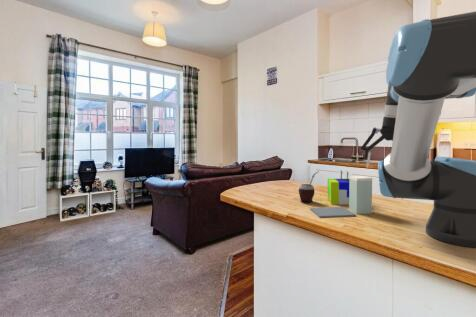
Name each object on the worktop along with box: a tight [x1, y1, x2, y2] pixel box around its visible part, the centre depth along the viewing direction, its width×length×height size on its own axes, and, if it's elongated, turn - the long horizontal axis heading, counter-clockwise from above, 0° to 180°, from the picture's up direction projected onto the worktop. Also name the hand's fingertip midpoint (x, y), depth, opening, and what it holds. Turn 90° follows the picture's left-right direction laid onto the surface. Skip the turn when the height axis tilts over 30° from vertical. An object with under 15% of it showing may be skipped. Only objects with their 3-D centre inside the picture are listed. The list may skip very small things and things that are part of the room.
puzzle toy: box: [327, 178, 349, 206], centre depth 117 cm, size 10×10×10 cm
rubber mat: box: [309, 206, 357, 219], centre depth 101 cm, size 14×11×1 cm
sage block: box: [348, 175, 373, 215], centre depth 101 cm, size 6×6×14 cm
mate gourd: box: [298, 170, 320, 204], centre depth 118 cm, size 8×8×15 cm
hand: (386, 169), depth 102 cm, fingers open, 13 cm apart
